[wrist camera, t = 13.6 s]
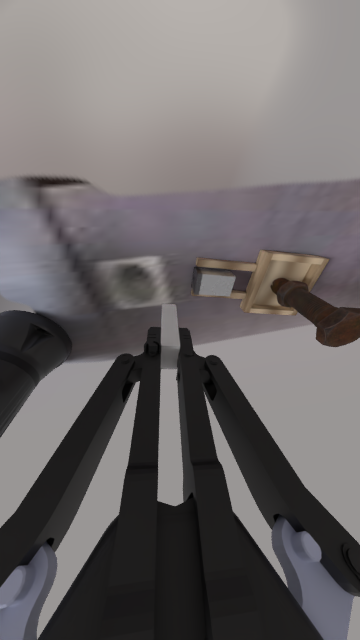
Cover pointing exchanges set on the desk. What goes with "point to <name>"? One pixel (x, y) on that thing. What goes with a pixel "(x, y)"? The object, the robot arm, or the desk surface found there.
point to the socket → (269, 278)
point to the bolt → (319, 313)
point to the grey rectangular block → (212, 281)
